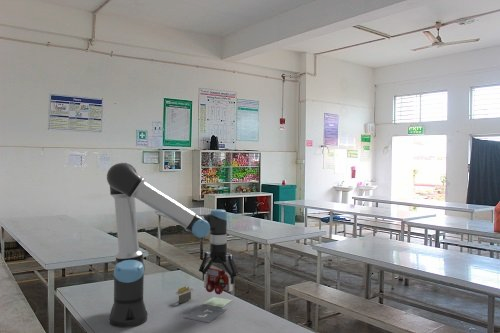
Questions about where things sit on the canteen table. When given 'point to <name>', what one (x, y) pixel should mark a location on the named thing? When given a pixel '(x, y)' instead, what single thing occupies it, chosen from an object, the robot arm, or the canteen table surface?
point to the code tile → (205, 313)
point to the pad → (217, 302)
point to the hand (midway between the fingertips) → (218, 288)
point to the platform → (184, 294)
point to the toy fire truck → (217, 281)
